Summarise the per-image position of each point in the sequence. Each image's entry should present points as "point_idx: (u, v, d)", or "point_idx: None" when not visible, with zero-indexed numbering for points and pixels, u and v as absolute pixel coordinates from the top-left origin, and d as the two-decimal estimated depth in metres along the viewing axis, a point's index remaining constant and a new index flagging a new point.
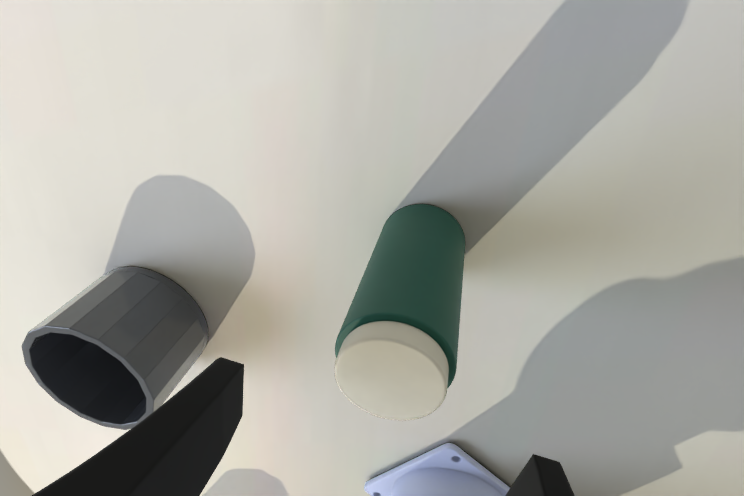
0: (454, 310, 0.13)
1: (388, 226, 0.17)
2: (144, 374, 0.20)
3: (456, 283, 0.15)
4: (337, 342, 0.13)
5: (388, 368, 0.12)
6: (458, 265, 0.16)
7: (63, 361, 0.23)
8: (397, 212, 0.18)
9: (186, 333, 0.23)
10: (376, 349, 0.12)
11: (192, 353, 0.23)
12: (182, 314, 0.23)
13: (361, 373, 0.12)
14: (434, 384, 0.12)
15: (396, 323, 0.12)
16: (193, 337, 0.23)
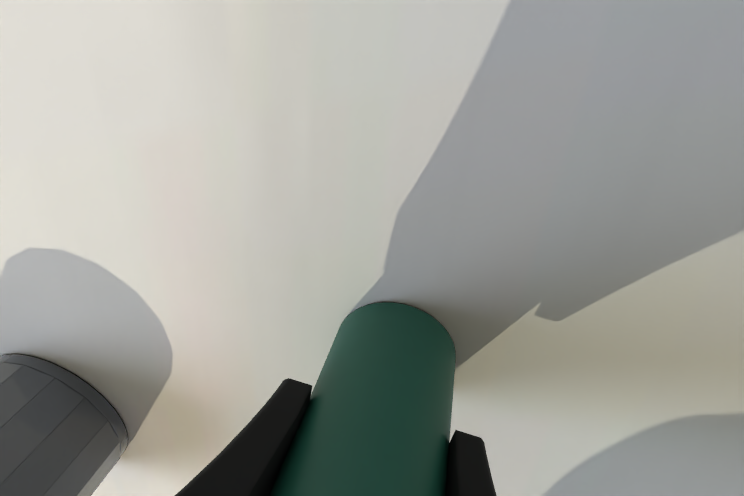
0: None
1: (341, 340, 0.12)
2: None
3: (437, 467, 0.09)
4: None
5: None
6: (442, 420, 0.10)
7: None
8: (356, 313, 0.12)
9: (87, 447, 0.17)
10: None
11: (99, 469, 0.18)
12: (82, 421, 0.17)
13: None
14: None
15: None
16: (100, 448, 0.18)
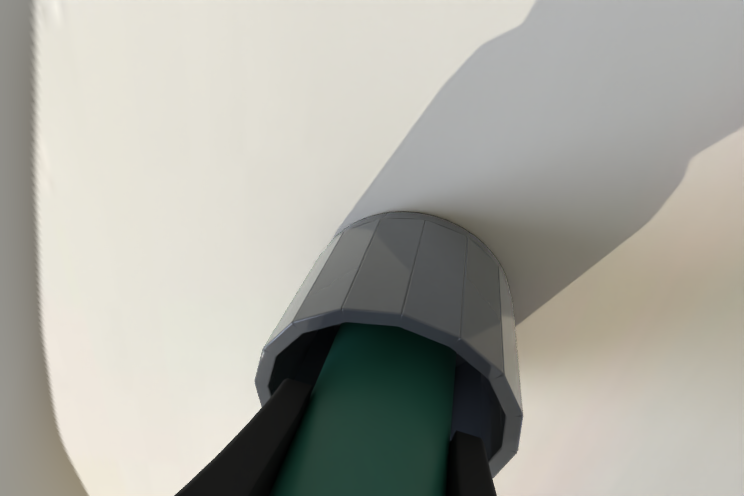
0: None
1: (341, 339, 0.12)
2: (520, 405, 0.10)
3: (438, 466, 0.09)
4: None
5: None
6: (443, 419, 0.10)
7: (293, 375, 0.13)
8: None
9: (514, 326, 0.13)
10: None
11: None
12: (505, 293, 0.13)
13: None
14: None
15: None
16: None
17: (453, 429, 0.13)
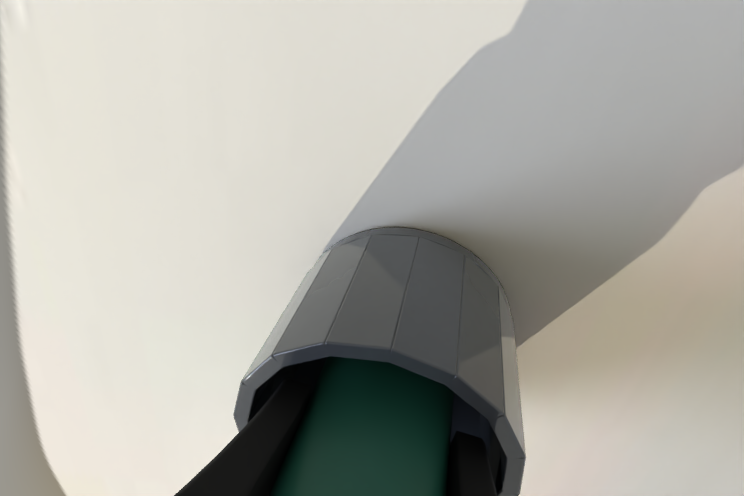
0: None
1: None
2: (522, 445, 0.09)
3: (439, 465, 0.09)
4: None
5: None
6: (444, 419, 0.10)
7: None
8: None
9: None
10: None
11: None
12: (506, 315, 0.12)
13: None
14: None
15: None
16: None
17: None
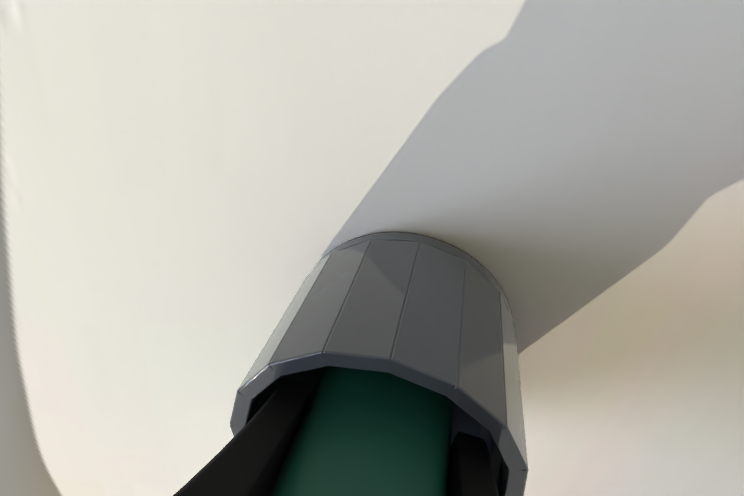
0: None
1: None
2: (524, 457, 0.09)
3: (439, 465, 0.09)
4: None
5: None
6: (444, 419, 0.10)
7: None
8: None
9: (517, 359, 0.12)
10: None
11: None
12: (507, 322, 0.12)
13: None
14: None
15: None
16: None
17: None
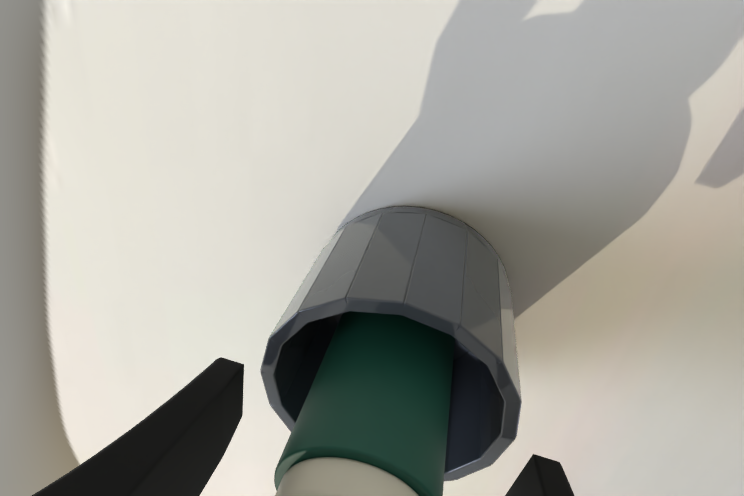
0: (440, 422, 0.10)
1: None
2: (518, 391, 0.10)
3: (444, 374, 0.11)
4: (276, 474, 0.09)
5: None
6: (447, 343, 0.12)
7: (297, 365, 0.13)
8: None
9: (512, 317, 0.13)
10: None
11: None
12: (504, 285, 0.13)
13: None
14: None
15: (353, 463, 0.08)
16: None
17: (454, 419, 0.14)
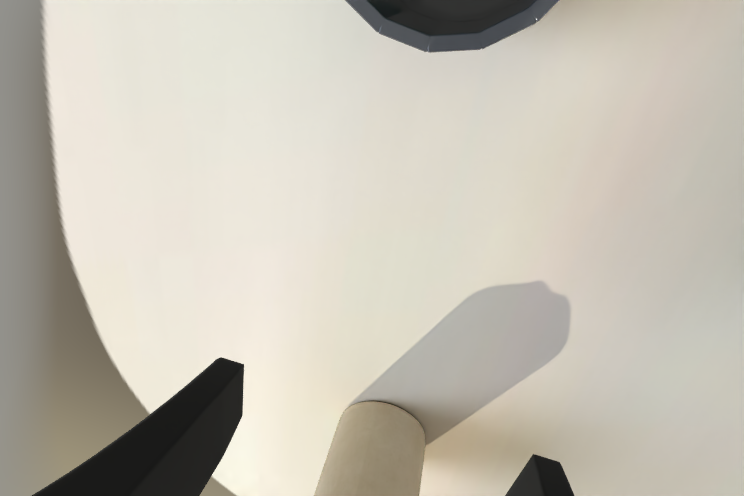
0: None
1: None
2: None
3: None
4: None
5: None
6: None
7: None
8: None
9: None
10: None
11: None
12: None
13: None
14: None
15: None
16: None
17: (526, 0, 0.12)
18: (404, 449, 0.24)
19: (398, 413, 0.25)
